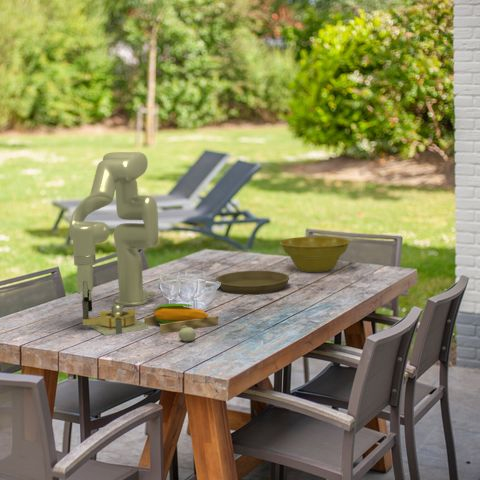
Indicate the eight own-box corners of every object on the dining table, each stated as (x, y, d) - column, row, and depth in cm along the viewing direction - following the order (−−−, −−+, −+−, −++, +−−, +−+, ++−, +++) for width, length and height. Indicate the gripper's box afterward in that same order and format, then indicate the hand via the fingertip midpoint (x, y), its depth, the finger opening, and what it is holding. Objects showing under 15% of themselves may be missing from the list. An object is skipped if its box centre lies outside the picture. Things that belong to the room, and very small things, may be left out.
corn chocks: (199, 317, 353) (199, 309, 352) (218, 324, 340) (218, 316, 340) (144, 325, 342) (144, 317, 342) (161, 333, 330) (161, 325, 329)
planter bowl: (304, 261, 462) (303, 234, 460) (363, 267, 443) (363, 238, 441) (266, 272, 436) (265, 243, 434) (327, 279, 418) (327, 248, 416)
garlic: (175, 341, 319) (174, 326, 318) (184, 338, 323) (184, 322, 322) (190, 343, 316) (189, 328, 315) (199, 340, 320) (198, 324, 319)
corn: (156, 299, 346) (210, 301, 341) (158, 319, 347) (211, 321, 343) (150, 305, 339) (204, 307, 334) (151, 326, 340) (205, 328, 336)
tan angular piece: (135, 317, 347) (134, 295, 346) (135, 325, 335) (134, 303, 334) (84, 320, 345) (82, 298, 344) (82, 328, 333) (81, 305, 331)
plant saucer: (249, 299, 383) (249, 287, 382) (200, 288, 406) (200, 278, 405) (304, 287, 403) (304, 276, 402) (255, 278, 426) (254, 267, 425)
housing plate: (130, 320, 351) (129, 298, 350) (148, 329, 337) (148, 306, 335) (88, 326, 343) (87, 304, 342) (105, 335, 329) (104, 312, 328)
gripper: (75, 257, 346) (78, 306, 349) (72, 264, 331) (75, 316, 334) (96, 256, 347) (99, 305, 350) (94, 263, 332) (97, 315, 335)
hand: (87, 310), depth 342 cm, fingers closed
